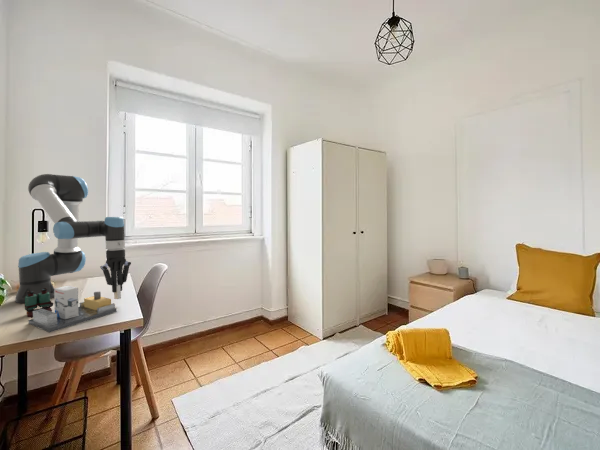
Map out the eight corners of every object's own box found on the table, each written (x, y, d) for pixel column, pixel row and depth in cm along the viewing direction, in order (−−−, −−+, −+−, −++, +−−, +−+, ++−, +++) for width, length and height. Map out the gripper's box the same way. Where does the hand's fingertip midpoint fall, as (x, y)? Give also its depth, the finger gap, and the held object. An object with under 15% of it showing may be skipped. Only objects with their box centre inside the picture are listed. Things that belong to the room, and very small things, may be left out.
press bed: (28, 323, 110) (27, 310, 109) (94, 305, 131) (94, 294, 130) (49, 332, 101) (48, 317, 101) (116, 311, 122) (116, 299, 122)
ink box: (54, 316, 113) (52, 288, 113) (68, 312, 118) (67, 285, 117) (65, 319, 110) (64, 290, 109) (80, 315, 114) (78, 287, 114)
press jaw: (84, 306, 124) (83, 291, 124) (96, 303, 129) (96, 289, 128) (99, 311, 119) (98, 295, 118) (111, 307, 123) (110, 292, 123)
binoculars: (27, 296, 113) (22, 290, 119) (28, 321, 114) (23, 313, 120) (55, 291, 120) (49, 285, 126) (56, 314, 122) (50, 307, 127)
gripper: (105, 251, 123) (107, 303, 124) (134, 248, 134) (135, 295, 135) (95, 250, 126) (98, 301, 127) (125, 247, 138) (126, 293, 139)
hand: (117, 298), depth 131 cm, fingers closed
